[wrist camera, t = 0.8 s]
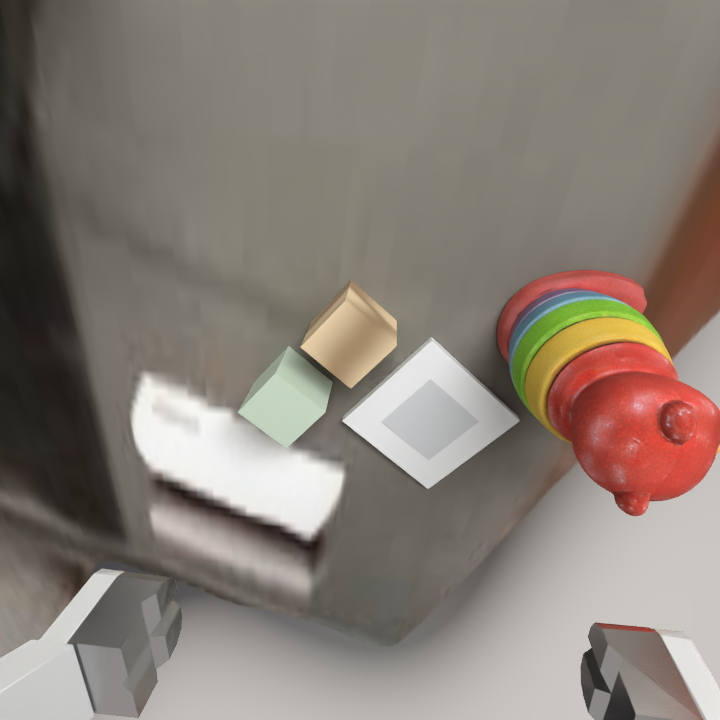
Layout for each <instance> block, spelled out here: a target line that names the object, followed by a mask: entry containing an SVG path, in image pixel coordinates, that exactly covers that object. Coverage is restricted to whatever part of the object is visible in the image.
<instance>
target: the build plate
mask: <svg viewBox="0 0 720 720" xmlns="http://www.w3.org/2000/svg"><path fill="white" fill-rule="evenodd" d="M342 421H343V422H344V423H345V424H347V425H348V426H349V427H350V428H352V429H353V430H354V431H355V432H357V433H358V434H359V435H360V436H362V437H363V438H364V439H366V440H367V441H368V442H369V443H371V444H372V445H373V446H374V447H376V448H377V449H378V450H379V451H381V452H382V453H383V454H384V455H386V456H387V457H388V458H389V459H391V460H392V461H393V462H394V463H396V464H397V465H398V466H399V467H401V468H402V469H403V470H405V471H406V472H407V473H408V474H410V475H411V476H412V477H413V478H415V479H416V480H417V481H418V482H420V483H421V484H422V485H423V486H425V487H426V488H427V489H429V488H430V487H432V486H433V485H434V484H436V483H437V482H438V481H440V480H441V479H443V478H444V477H445V476H447V475H448V474H449V473H451V472H452V471H453V470H455V469H456V468H457V467H459V466H460V465H461V464H463V463H464V462H465V461H467V460H468V459H469V458H471V457H472V456H474V455H475V454H476V453H478V452H479V451H480V450H482V449H483V448H484V447H486V446H487V445H488V444H490V443H491V442H492V441H494V440H495V439H496V438H498V437H499V436H500V435H502V434H503V433H504V432H506V431H507V430H509V429H510V428H511V427H513V426H514V425H515V424H517V423H518V422H519V421H520V420H519V418H518V416H517V415H516V414H515V413H514V412H513V411H512V410H511V409H510V408H509V407H508V406H506V405H505V404H504V403H503V402H502V401H501V400H500V399H499V398H498V397H497V396H495V395H494V394H493V393H492V392H491V391H490V390H489V389H488V388H487V387H486V386H485V385H483V384H482V383H481V382H480V381H479V380H478V379H477V378H476V377H475V376H474V375H473V374H471V373H470V372H469V371H468V370H467V369H466V368H465V367H464V366H463V365H462V364H461V363H459V362H458V361H457V360H456V359H455V358H454V357H453V356H452V355H451V354H450V353H449V352H447V351H446V350H445V349H444V348H443V347H442V346H441V345H440V344H439V343H438V342H437V341H435V340H434V339H433V338H432V337H430V338H429V339H428V340H427V341H426V342H425V343H423V344H422V345H421V346H420V347H419V348H418V349H417V350H416V351H415V352H414V353H412V354H411V355H410V356H409V357H408V358H407V359H406V360H405V361H404V362H402V363H401V364H400V365H399V366H398V367H397V368H396V369H395V370H394V371H392V372H391V373H390V374H389V375H388V376H387V377H386V378H385V379H384V380H383V381H381V382H380V383H379V384H378V385H377V386H376V387H375V388H374V389H373V390H371V391H370V392H369V393H368V394H367V395H366V396H365V397H364V398H363V399H362V400H360V401H359V402H358V403H357V404H356V405H355V406H354V407H353V408H352V409H350V410H349V411H348V412H347V413H346V414H345V415H344V416H343V420H342Z"/></svg>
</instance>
